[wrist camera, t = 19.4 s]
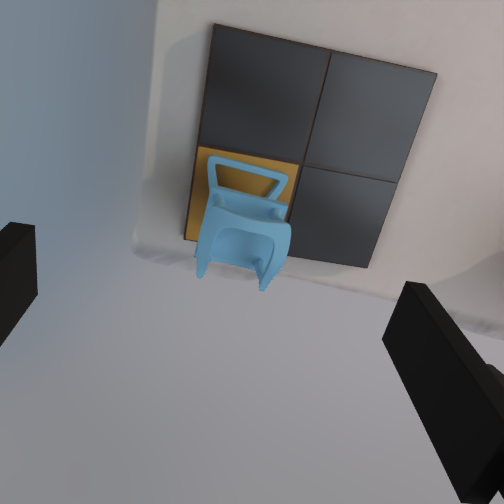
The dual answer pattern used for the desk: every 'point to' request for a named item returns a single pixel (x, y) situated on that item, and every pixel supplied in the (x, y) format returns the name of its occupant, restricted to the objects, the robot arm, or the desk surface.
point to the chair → (244, 225)
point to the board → (308, 137)
